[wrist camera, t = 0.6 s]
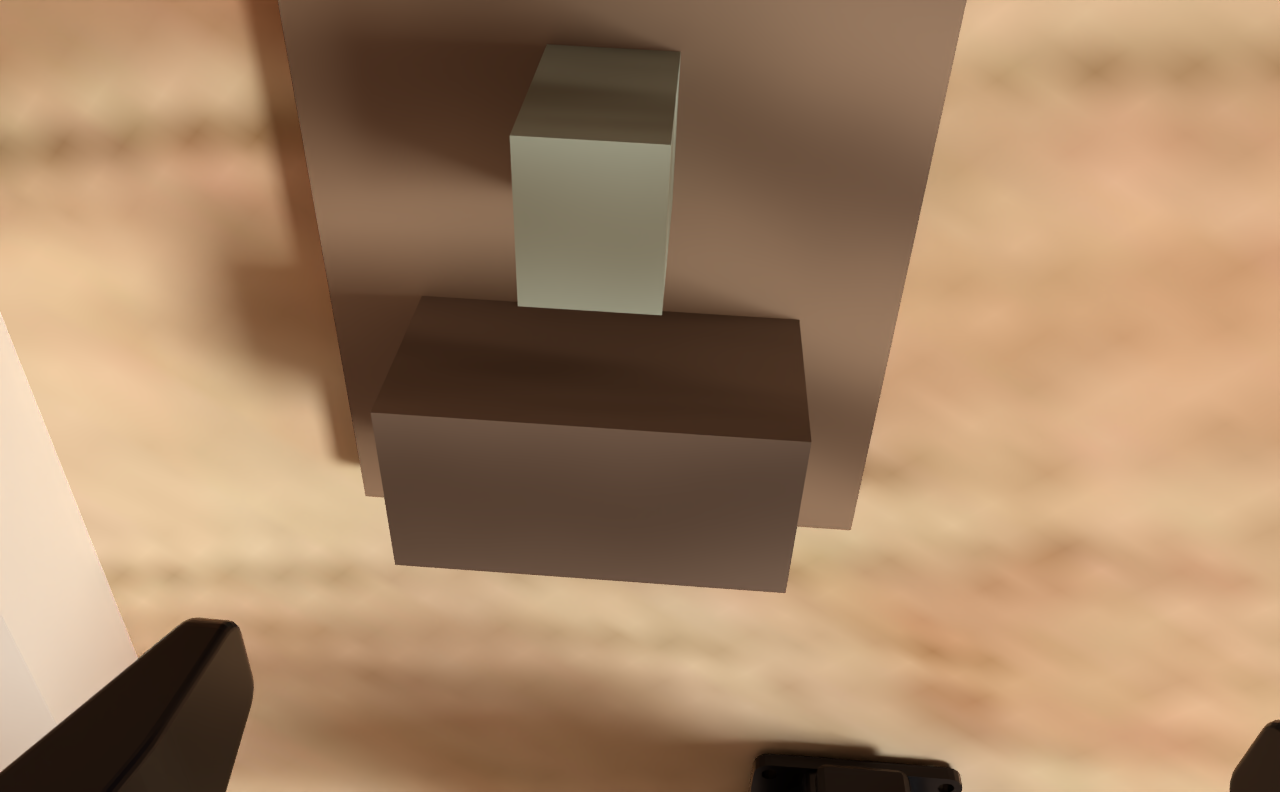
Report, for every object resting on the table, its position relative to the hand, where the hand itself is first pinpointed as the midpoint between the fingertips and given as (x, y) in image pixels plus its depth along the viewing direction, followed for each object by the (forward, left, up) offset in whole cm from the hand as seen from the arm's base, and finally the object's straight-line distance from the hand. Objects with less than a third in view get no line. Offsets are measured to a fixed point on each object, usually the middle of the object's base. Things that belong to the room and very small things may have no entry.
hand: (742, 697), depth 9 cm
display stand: (0, +2, -14) cm, 14 cm away
